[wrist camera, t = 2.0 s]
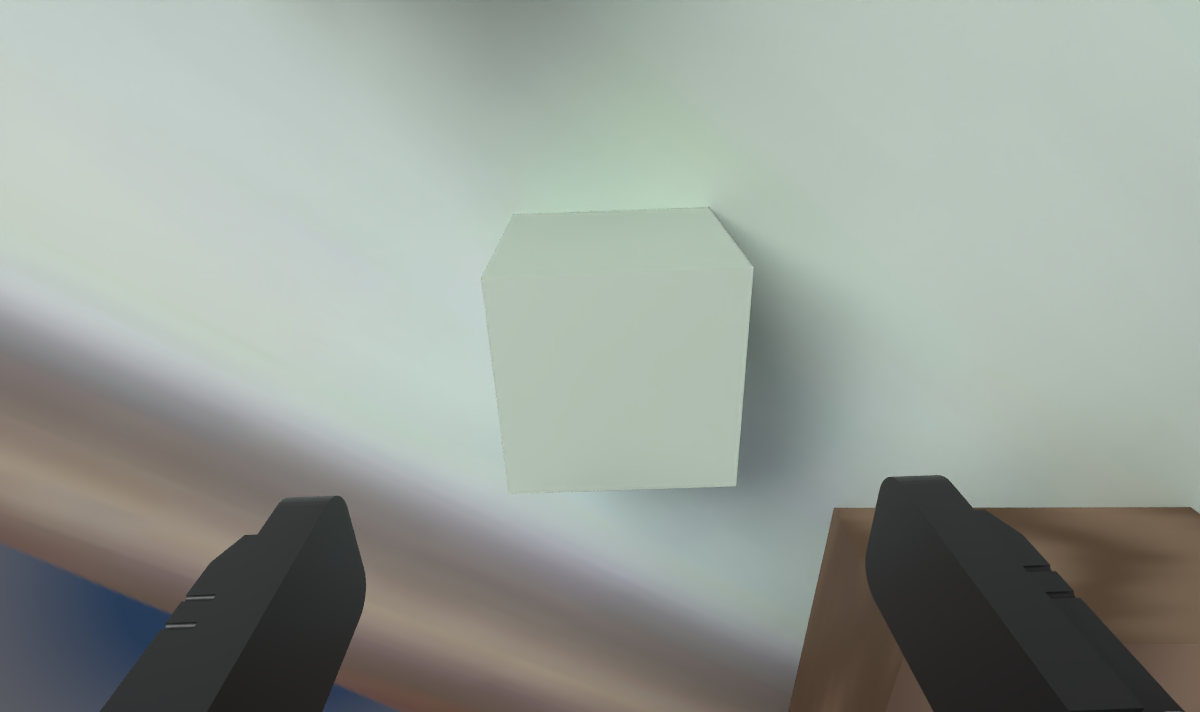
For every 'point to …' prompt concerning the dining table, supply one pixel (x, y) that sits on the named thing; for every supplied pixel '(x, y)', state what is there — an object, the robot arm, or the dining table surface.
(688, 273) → the sage block
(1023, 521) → the walnut box
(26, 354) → the dining table surface
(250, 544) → the robot arm
